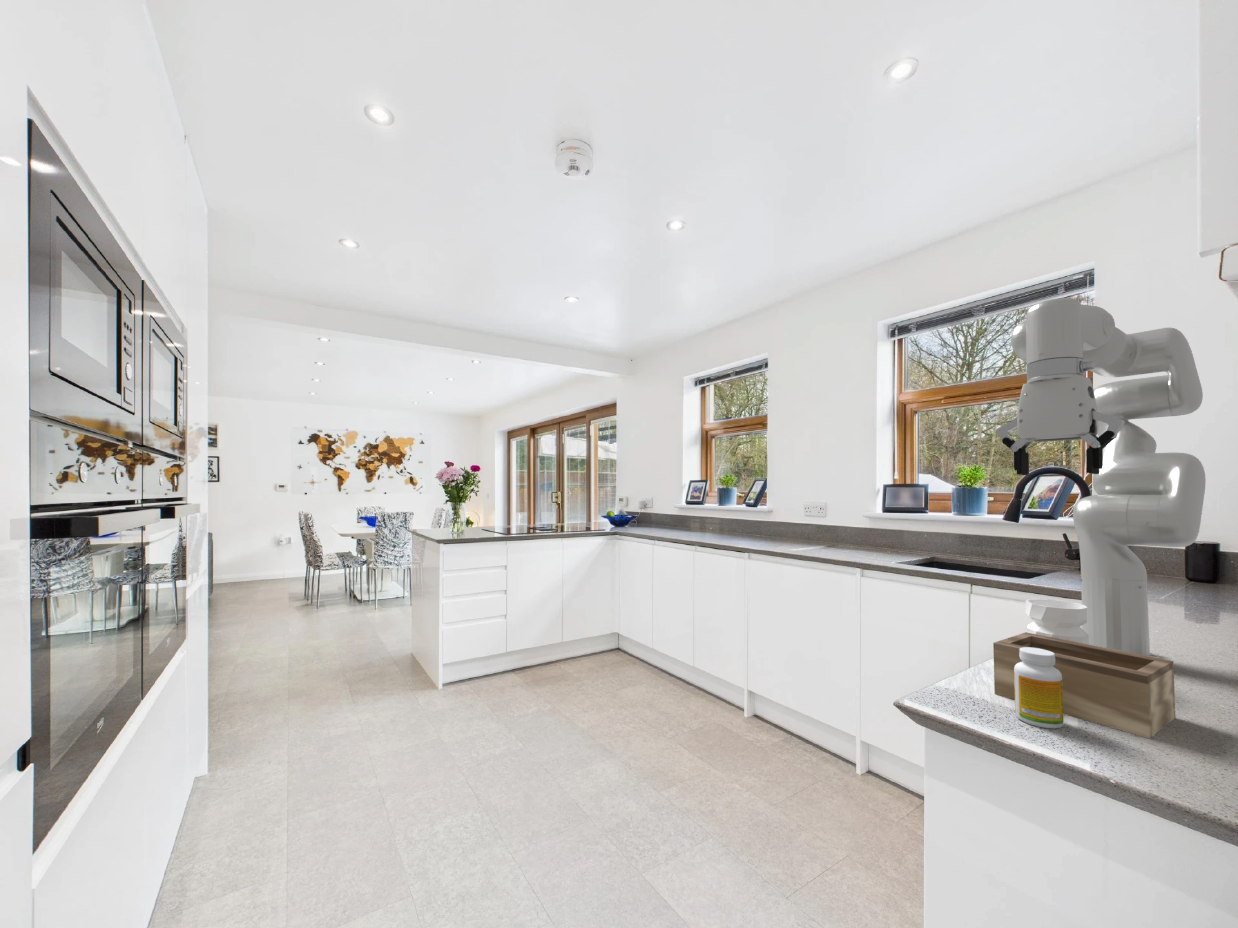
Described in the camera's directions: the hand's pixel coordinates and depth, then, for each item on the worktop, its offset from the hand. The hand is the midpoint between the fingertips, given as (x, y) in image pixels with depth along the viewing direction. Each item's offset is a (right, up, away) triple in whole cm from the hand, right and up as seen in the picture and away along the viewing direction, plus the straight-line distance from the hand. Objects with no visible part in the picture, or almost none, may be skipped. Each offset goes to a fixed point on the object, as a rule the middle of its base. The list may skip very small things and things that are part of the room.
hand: (1056, 474), depth 90 cm
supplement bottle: (-15, -35, -15) cm, 40 cm away
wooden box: (-4, -35, -9) cm, 36 cm away
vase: (+5, -36, +6) cm, 37 cm away
